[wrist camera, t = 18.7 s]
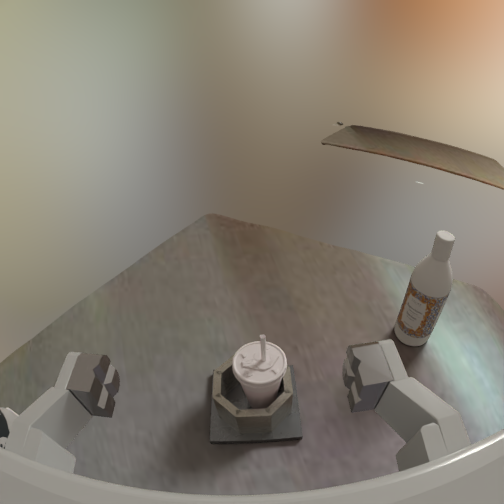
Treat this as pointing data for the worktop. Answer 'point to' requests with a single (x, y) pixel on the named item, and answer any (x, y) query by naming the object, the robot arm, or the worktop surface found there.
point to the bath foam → (426, 293)
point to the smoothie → (260, 371)
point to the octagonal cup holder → (252, 411)
